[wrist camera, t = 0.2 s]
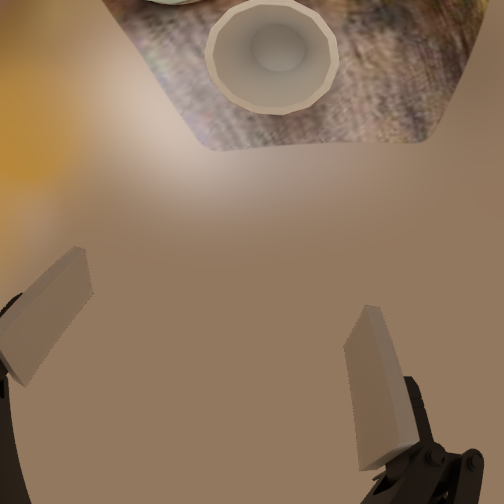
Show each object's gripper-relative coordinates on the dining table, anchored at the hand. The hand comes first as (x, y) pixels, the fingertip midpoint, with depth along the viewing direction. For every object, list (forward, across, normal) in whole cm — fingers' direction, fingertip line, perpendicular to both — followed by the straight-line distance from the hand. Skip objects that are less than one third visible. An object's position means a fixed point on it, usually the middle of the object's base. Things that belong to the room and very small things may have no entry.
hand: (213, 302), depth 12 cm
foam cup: (+24, 0, +16) cm, 28 cm away
